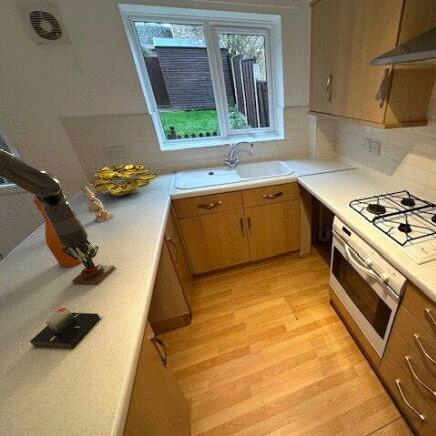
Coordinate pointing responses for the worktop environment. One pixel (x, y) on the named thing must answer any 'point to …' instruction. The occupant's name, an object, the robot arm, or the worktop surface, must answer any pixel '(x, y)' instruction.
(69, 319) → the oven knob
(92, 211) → the figurine
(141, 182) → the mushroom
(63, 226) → the robot arm
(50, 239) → the wine bottle
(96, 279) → the button block
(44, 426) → the worktop surface
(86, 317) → the panel
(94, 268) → the button
